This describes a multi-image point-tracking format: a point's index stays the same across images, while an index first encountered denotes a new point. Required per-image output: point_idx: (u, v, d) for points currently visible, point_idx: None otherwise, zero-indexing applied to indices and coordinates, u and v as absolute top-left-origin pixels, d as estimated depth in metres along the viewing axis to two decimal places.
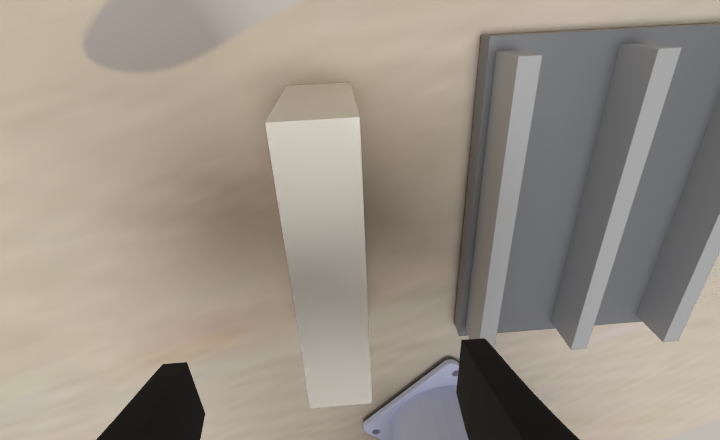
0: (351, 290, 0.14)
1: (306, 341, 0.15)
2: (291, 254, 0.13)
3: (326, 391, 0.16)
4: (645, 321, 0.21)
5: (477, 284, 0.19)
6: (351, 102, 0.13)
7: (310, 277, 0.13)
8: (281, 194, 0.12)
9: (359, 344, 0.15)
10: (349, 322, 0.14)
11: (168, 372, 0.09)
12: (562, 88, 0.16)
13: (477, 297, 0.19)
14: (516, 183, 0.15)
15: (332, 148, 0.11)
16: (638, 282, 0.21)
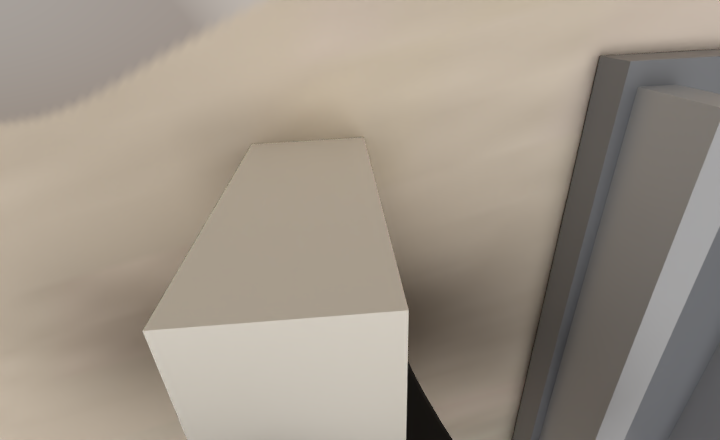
0: None
1: None
2: None
3: None
4: None
5: None
6: (375, 218, 0.06)
7: None
8: None
9: None
10: None
11: None
12: None
13: None
14: (666, 325, 0.08)
15: (332, 377, 0.04)
16: None
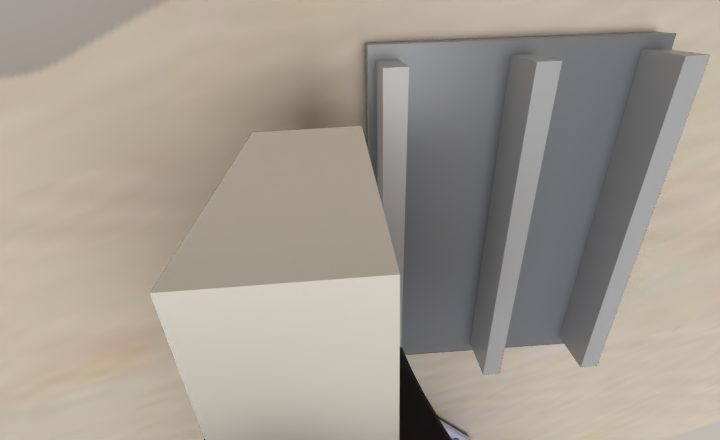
0: None
1: None
2: None
3: None
4: (566, 344, 0.20)
5: None
6: (370, 197, 0.06)
7: None
8: (211, 425, 0.05)
9: None
10: None
11: None
12: (453, 101, 0.15)
13: None
14: (400, 203, 0.14)
15: (328, 340, 0.05)
16: (557, 303, 0.20)
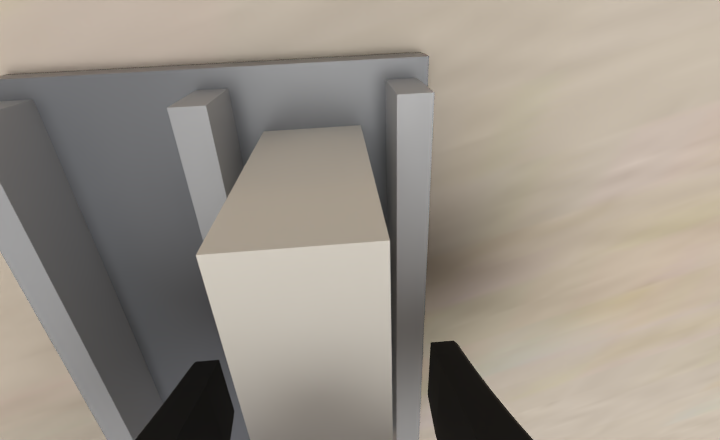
0: None
1: None
2: None
3: None
4: None
5: None
6: (367, 184, 0.07)
7: None
8: (238, 368, 0.06)
9: None
10: None
11: (202, 369, 0.10)
12: (136, 153, 0.11)
13: None
14: (52, 297, 0.10)
15: (333, 295, 0.06)
16: None
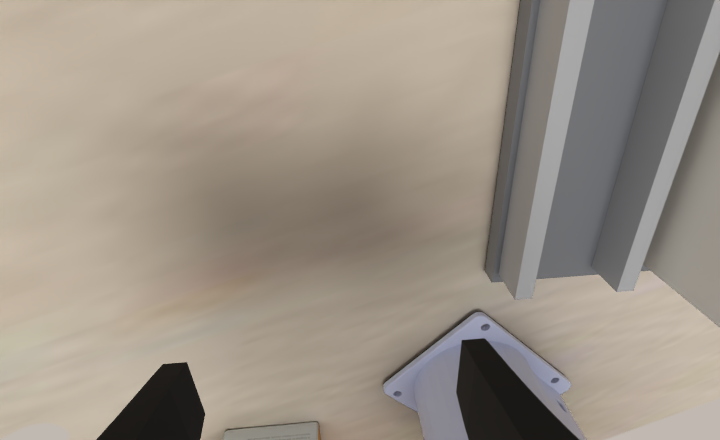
0: None
1: None
2: None
3: None
4: None
5: (516, 217, 0.17)
6: None
7: None
8: None
9: None
10: None
11: (168, 372, 0.10)
12: None
13: (516, 232, 0.17)
14: (571, 86, 0.14)
15: None
16: None
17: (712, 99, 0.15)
